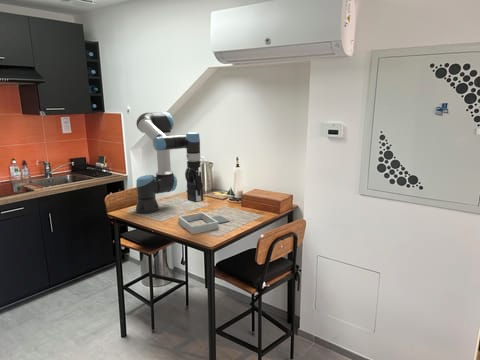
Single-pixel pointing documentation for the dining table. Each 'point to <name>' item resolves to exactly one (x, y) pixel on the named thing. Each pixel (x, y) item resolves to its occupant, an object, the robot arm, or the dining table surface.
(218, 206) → the dining table surface
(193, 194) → the box
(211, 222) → the bin
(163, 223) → the dining table surface
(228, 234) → the dining table surface
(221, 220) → the mat
